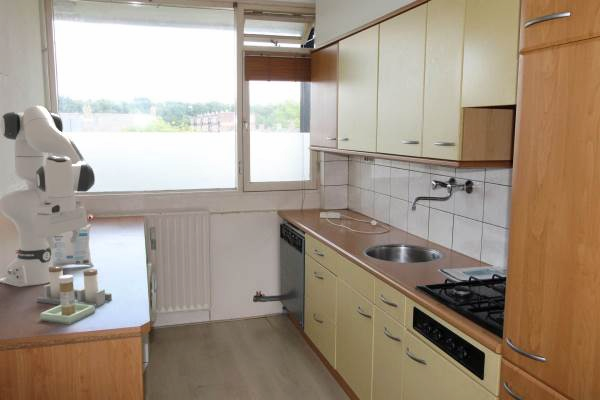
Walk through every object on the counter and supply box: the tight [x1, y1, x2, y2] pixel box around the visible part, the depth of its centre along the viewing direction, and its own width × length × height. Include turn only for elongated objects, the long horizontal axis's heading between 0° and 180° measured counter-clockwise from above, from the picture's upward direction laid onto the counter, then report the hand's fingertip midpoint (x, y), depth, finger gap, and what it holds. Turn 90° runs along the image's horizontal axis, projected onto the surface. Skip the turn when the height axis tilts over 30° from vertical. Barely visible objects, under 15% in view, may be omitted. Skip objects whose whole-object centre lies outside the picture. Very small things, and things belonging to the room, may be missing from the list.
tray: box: [40, 303, 96, 325], centre depth 181 cm, size 12×12×2 cm
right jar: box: [82, 268, 99, 305], centre depth 194 cm, size 5×5×12 cm
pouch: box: [51, 223, 94, 267], centre depth 244 cm, size 8×19×20 cm, turn 102°
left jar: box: [49, 266, 64, 299], centre depth 199 cm, size 5×5×12 cm
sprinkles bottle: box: [59, 274, 76, 316], centre depth 180 cm, size 5×5×13 cm
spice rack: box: [36, 283, 113, 307], centre depth 197 cm, size 25×10×5 cm, turn 71°
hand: (63, 245), depth 178 cm, fingers open, 8 cm apart
